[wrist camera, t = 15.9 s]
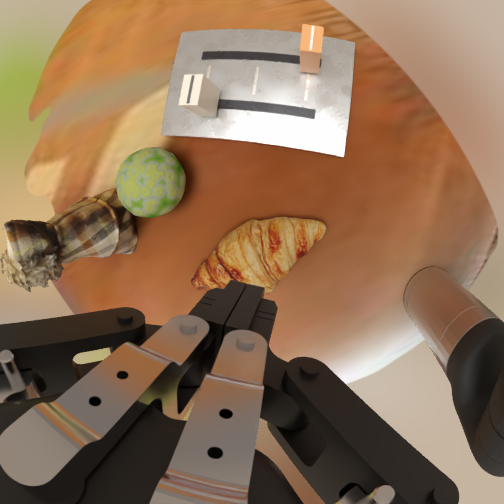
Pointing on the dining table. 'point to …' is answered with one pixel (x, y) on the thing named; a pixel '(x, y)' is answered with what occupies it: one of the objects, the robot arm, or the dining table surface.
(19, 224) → the plush toy
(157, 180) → the decorative ball
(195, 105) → the cream fader
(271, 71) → the fader panel
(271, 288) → the croissant
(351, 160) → the dining table surface
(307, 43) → the orange fader
